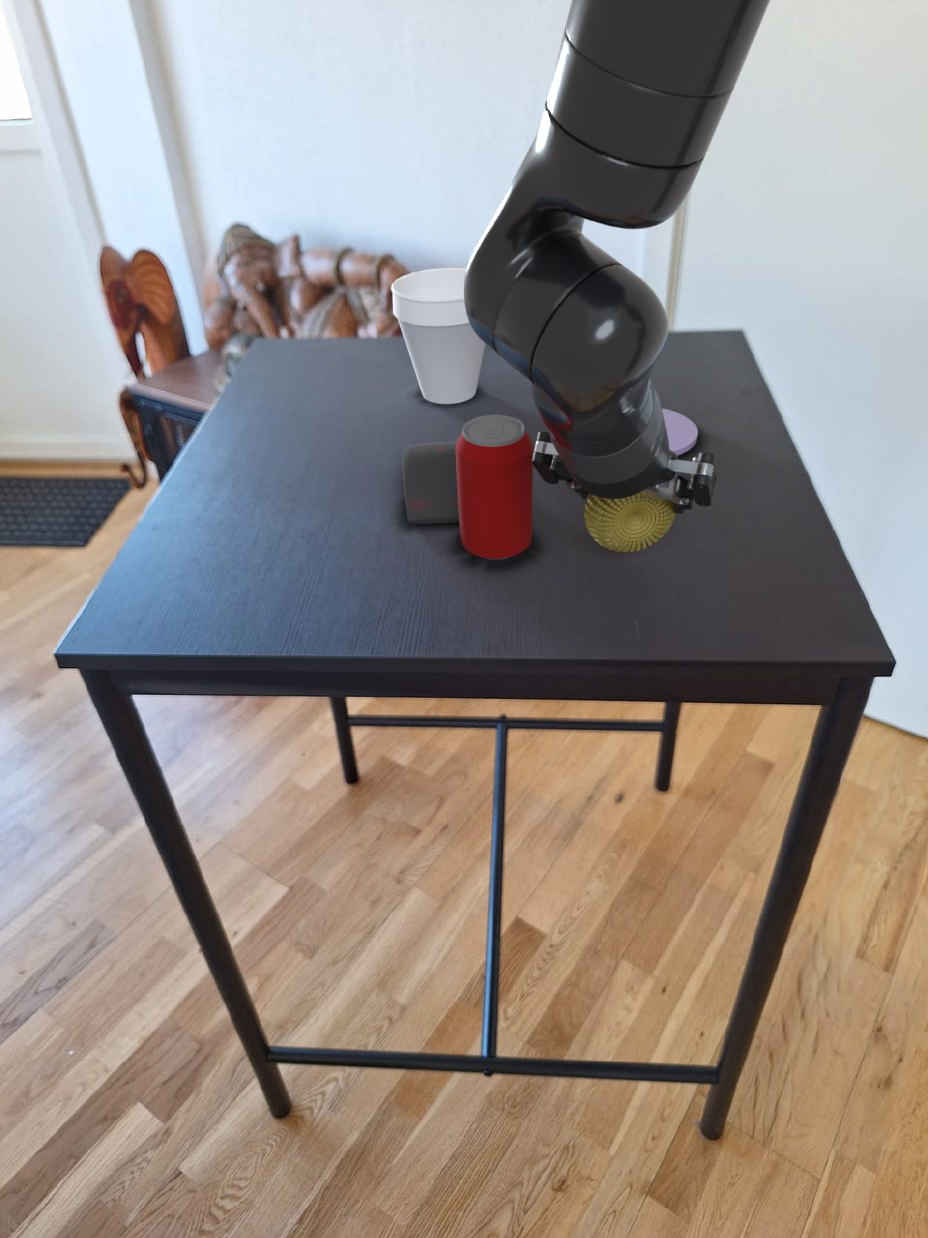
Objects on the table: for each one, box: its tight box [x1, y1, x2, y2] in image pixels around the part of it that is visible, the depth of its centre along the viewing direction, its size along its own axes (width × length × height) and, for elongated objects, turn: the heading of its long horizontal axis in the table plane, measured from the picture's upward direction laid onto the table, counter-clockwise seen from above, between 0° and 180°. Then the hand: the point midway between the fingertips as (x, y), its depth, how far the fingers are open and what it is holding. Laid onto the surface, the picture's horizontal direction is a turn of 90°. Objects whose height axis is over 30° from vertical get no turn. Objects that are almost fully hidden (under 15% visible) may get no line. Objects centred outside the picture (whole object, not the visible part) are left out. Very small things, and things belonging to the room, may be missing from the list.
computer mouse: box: [402, 441, 460, 525], centre depth 87 cm, size 8×14×4 cm, turn 179°
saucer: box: [662, 408, 699, 457], centre depth 95 cm, size 12×12×1 cm
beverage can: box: [455, 414, 534, 561], centre depth 76 cm, size 7×7×12 cm
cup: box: [390, 267, 486, 405], centre depth 103 cm, size 12×12×14 cm
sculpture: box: [583, 485, 676, 553], centre depth 73 cm, size 8×4×8 cm, turn 97°
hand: (634, 495), depth 73 cm, fingers closed on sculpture, 7 cm apart
